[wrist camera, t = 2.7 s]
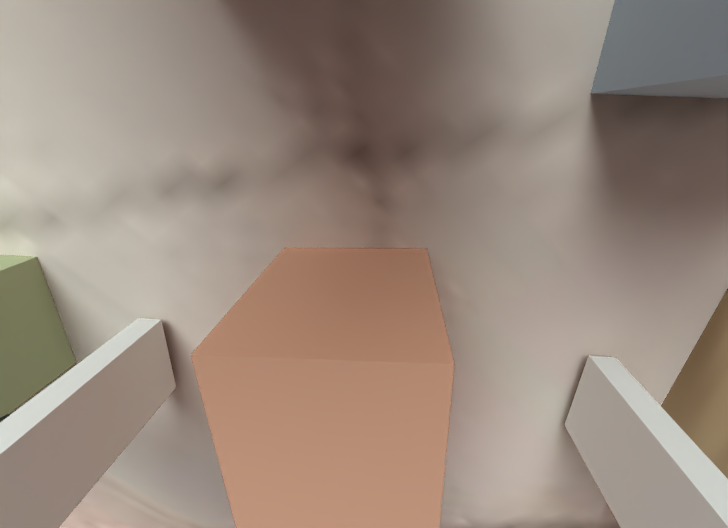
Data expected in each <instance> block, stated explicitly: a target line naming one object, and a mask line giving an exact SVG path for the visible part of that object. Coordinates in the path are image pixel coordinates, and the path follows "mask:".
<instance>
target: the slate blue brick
mask: <svg viewBox="0 0 728 528" xmlns="http://www.w3.org/2000/svg"><path fill="white" fill-rule="evenodd" d="M591 94H616V95H644V96H672V97H700V98H728V0H615V2H614V6H613V10H612V14H611V18H610V21H609V25H608V29H607V33H606V37H605V40H604V44H603V48H602V52H601V56H600V60H599V63H598V67H597V71H596V75H595V79H594V82H593V86H592V90H591Z"/></svg>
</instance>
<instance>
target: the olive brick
mask: <svg viewBox="0 0 728 528" xmlns="http://www.w3.org/2000/svg"><path fill="white" fill-rule="evenodd" d="M75 363H76V360H75V357H74V355H73V352H72V349H71V347H70V344H69V341H68V339H67V336H66V333H65V331H64V328H63V325H62V323H61V320H60V317H59V314H58V312H57V309H56V306H55V304H54V301H53V298H52V296H51V293H50V290H49V288H48V285H47V282H46V280H45V277H44V274H43V272H42V269H41V266H40V264H39V261H38V258H37V257H32V256H13V255H0V418H1V417H3V416H5V415H6V414H9V413H11V412H12V411H13V410H15V409H16V408H17V407H19V406H20V405H21V404H22V403H24V402H25V401H26V400H28V399H29V398H30V397H32V396H33V395H34V394H36V393H37V392H38V391H40V390H41V389H42V388H43V387H45V386H46V385H47V384H49V383H50V382H51V381H53V380H54V379H55V378H57V377H58V376H59V375H61V374H62V373H63V372H64V371H66V370H67V369H68V368H70V367H71V366H72V365H74V364H75Z"/></svg>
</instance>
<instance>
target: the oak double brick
mask: <svg viewBox="0 0 728 528" xmlns="http://www.w3.org/2000/svg"><path fill="white" fill-rule="evenodd" d="M661 407H662V408H663V409H664V410H665V411H666V412H667V414H668V415H669V416H670V417H671V418H672V419H673V420H674V421H675V422H676V423H677V424H678V426H679V427H680V428H681V429H682V430H683V431H684V432H685V433H686V434H687V435H688V436H689V437H690V439H691V440H692V441H693V442H694V443H695V444H696V445H697V446H698V447H699V448H700V449H701V451H702V452H703V453H704V454H705V455H706V456H707V457H708V458H709V459H710V460H711V461H712V462H713V464H714V465H715V466H716V467H717V468H718V469H719V470H720V471H721V472H722V473H723V474H724V475H725V477H726V478H727V479H728V289H727V291H726V292H725V294H724V296H723V298H722V300H721V301H720V303H719V305H718V307H717V308H716V310H715V312H714V314H713V315H712V317H711V319H710V321H709V322H708V324H707V326H706V328H705V330H704V331H703V333H702V335H701V337H700V338H699V340H698V342H697V344H696V345H695V347H694V349H693V351H692V352H691V354H690V356H689V358H688V360H687V361H686V363H685V365H684V367H683V368H682V370H681V372H680V374H679V375H678V377H677V379H676V381H675V382H674V384H673V386H672V388H671V390H670V391H669V393H668V395H667V397H666V398H665V400H664V402H663V404H662V405H661ZM607 505H608V504H607ZM608 507H609V506H608ZM609 509H610V507H609ZM610 510H611V509H610ZM611 512H612V511H611ZM612 514H613V513H612ZM613 516H614V515H613ZM614 518H615V517H614ZM615 520H616V518H615ZM616 521H617V520H616ZM617 523H618V522H617ZM618 525H619V524H618ZM619 527H620V526H619Z"/></svg>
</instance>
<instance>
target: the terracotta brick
mask: <svg viewBox="0 0 728 528" xmlns="http://www.w3.org/2000/svg"><path fill="white" fill-rule="evenodd" d="M191 359H192V363H193V367H194V370H195V374H196V378H197V382H198V386H199V389H200V393H201V397H202V401H203V405H204V408H205V412H206V416H207V420H208V424H209V427H210V431H211V435H212V439H213V442H214V446H215V450H216V454H217V458H218V461H219V465H220V469H221V473H222V477H223V480H224V484H225V488H226V492H227V496H228V499H229V503H230V507H231V511H232V515H233V518H234V522H235V526H236V528H440V518H441V507H442V496H443V485H444V474H445V463H446V452H447V441H448V430H449V420H450V409H451V398H452V387H453V376H454V365H455V364H454V359H453V355H452V351H451V347H450V343H449V339H448V335H447V330H446V326H445V322H444V318H443V314H442V310H441V306H440V301H439V297H438V293H437V289H436V285H435V281H434V276H433V272H432V268H431V264H430V260H429V256H428V252H427V249H419V248H284V249H283V250H282V251H281V252H280V253H279V254H278V256H277V257H276V258H275V259H274V260H273V261H272V262H271V264H270V265H269V266H268V267H267V268H266V269H265V270H264V272H263V273H262V274H261V275H260V276H259V277H258V278H257V280H256V281H255V282H254V283H253V284H252V285H251V286H250V288H249V289H248V290H247V291H246V292H245V293H244V294H243V296H242V297H241V298H240V299H239V300H238V301H237V302H236V304H235V305H234V306H233V307H232V308H231V309H230V310H229V312H228V313H227V314H226V315H225V316H224V317H223V318H222V320H221V321H220V322H219V323H218V324H217V325H216V326H215V328H214V329H213V330H212V331H211V332H210V333H209V334H208V336H207V337H206V338H205V339H204V340H203V341H202V342H201V344H200V345H199V346H198V347H197V348H196V349H195V350H194V352H193V353H192V354H191Z"/></svg>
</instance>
